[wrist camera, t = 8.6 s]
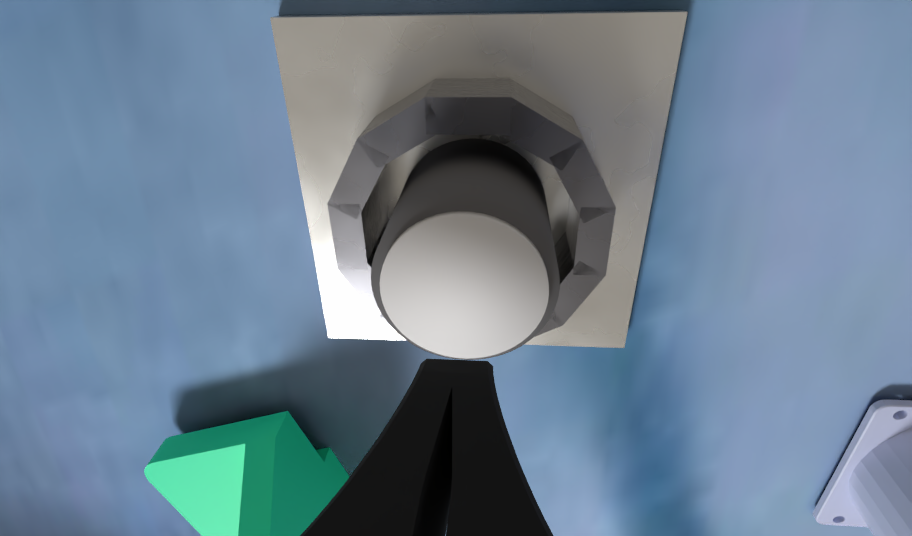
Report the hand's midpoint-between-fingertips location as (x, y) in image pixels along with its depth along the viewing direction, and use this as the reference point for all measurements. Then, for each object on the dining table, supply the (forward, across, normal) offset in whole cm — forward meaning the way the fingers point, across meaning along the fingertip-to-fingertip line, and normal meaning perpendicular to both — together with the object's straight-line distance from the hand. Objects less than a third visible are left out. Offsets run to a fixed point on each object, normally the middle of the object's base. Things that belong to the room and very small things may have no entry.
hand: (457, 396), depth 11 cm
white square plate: (+9, 0, 0) cm, 9 cm away
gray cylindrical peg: (+9, 0, 0) cm, 9 cm away
